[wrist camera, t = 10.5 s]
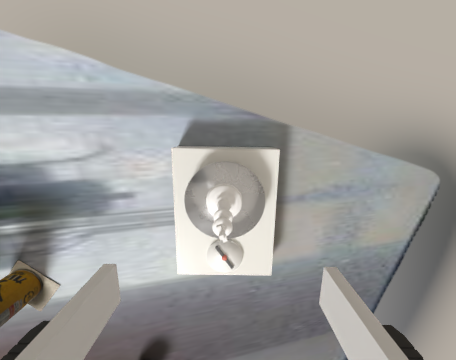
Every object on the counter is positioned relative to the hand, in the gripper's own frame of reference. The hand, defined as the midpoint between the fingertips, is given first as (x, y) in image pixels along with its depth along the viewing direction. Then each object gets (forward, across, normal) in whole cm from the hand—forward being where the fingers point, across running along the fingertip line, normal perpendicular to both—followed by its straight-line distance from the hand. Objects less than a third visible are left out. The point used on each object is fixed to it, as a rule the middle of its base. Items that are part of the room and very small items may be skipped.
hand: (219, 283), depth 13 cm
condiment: (+22, -36, -19) cm, 46 cm away
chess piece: (+16, 0, 0) cm, 16 cm away
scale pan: (+17, 0, 0) cm, 17 cm away
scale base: (+22, 0, -3) cm, 22 cm away
